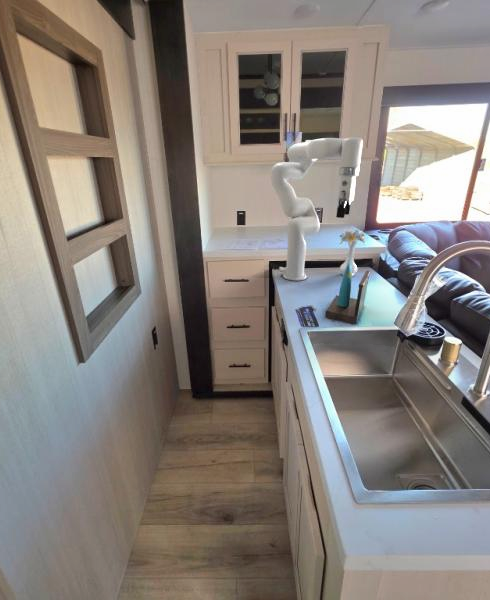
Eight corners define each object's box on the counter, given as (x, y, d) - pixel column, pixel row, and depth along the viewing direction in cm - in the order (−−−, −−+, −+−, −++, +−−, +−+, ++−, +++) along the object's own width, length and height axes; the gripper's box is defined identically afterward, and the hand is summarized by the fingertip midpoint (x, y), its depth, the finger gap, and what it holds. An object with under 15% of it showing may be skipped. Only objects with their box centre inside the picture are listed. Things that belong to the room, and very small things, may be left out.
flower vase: (353, 269, 182) (359, 225, 172) (364, 280, 165) (372, 232, 155) (330, 269, 183) (336, 225, 172) (339, 280, 166) (345, 232, 156)
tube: (349, 309, 126) (356, 263, 118) (336, 307, 127) (343, 262, 120) (349, 301, 133) (355, 257, 125) (337, 300, 134) (343, 256, 126)
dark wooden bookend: (325, 317, 126) (329, 279, 120) (335, 301, 141) (340, 266, 134) (356, 324, 121) (363, 285, 114) (364, 306, 135) (370, 271, 129)
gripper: (354, 173, 117) (347, 219, 124) (361, 171, 131) (355, 213, 138) (334, 172, 120) (328, 218, 127) (343, 171, 134) (338, 212, 141)
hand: (342, 215), depth 133 cm, fingers open, 9 cm apart
